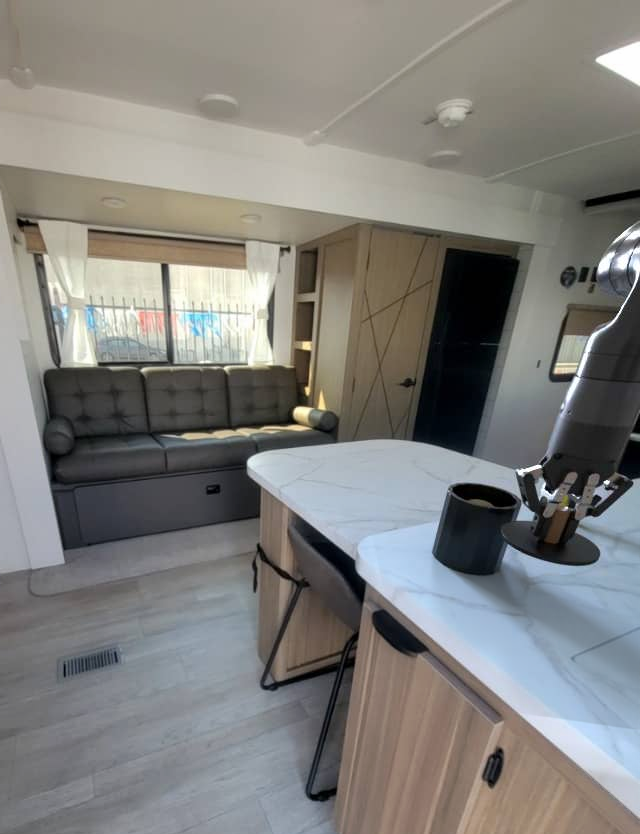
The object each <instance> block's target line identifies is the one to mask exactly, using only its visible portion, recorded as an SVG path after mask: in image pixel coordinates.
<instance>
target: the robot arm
mask: <svg viewBox="0 0 640 834" xmlns="http://www.w3.org/2000/svg"><path fill="white" fill-rule="evenodd" d="M595 277H596V278H595V279H596V283H597V286H598V287H599V289H600V290H601V291H602V292H603V293H604V294H605V295H608V296H610V297H614V298H617V299H618V298H620V299H625V301H624V303H623V304H622V306H621V308H620V309H619V311H618V312H617V314H616V316H615V317H614V318H613V319H611V320H610V321H607V322H603V323H602V324H599V325H597V326H596V327H594V329H592V331H591V332H590V333H589V334H588V337H587V339H586V341H585V344H584V346H583V349H582V352H581V356H580V359H579V361H578V364H577V367H576V370H575V373H574V376H573V377H572V380H571V382H570V384H569V386H568V387H567V390H566V392H565V394H564V396H563V400H562V403H561V405H560V406H559V410H558V411H559V412H558V414H557V417H556V420H555V423H554V426H553V429H552V432H551V435H550V438H549V441H548V442H547V451H546V454H545V455H544V456H543V457H542V458H541V459H540V460H539V462H538V464H537V465H534V466H531V467H528V468H525V467H522V466H519V467H518V468H516V469H515V472H514V473H515V477H516V481H517V485H518V488H519V489H518V490H519V494H520V498H521V500H522V505H524V506H525V507H526V508H527V509H528V510H529V511H530V512H531V513H534V514H533V517H532V519H531V521H532V523H531V525H530V528H529V529H530V532H531V533H532V536H533V537H534V538H535V539H536V540H537V541H544V539H545V537H546V534H547V531H548V529H549V526H550V523H551V521H552V518H551V516H552V515H553V513H554V511H555V510H556V508H557V506H558V504H560V503H562V502H563V500H564V498H565V496H566V494H567V496H568V501H567V505H566V506H567V507H569V508H570V509H571V512H570V515H569V517H568V520H567V522H566V525H565V527H564V530H563V532H562V535H561V537H560V540H559V542H560V543H567V542H568V540H569V539H572V538H573V536H574V534H575V533H577V532H576V531H577V529H578V527H579V524H580V522H581V521H582V520H583V519H585V518H587V517H592V518H598V517H600V516H601V515H603V514H604V512H606V511H607V510H608V509H609V508H610V507H611V506H613V505H614V504H615V503H616V502H617V501H618V500H619V499H620V498H622V496H624V495H625V494H626V493H627V492H628V491H629V490H630V489H631V488H632V487H633V486H634V481H633V480H631V479H630V478H628V477H627V476H625V475H622V474H621V473H618V472H616V471H617V466H616V465H617V464H616V461H618V459H620V458H621V457H622V454H623V452H624V450H625V448H626V445H627V443H628V441H629V439H630V436H631V433H632V432H633V429H634V427H635V424H636V422H637V420H638V417H639V416H640V220H638V221H636V222H635V223H634V224H633V225H631V226H630V227H628V228H627V229H626V230H624V231H623V232H622V233H621V234H620V235H619V236H618V237H616V238H615V239H614V241H613V242H612V243H611V244H610V245H609V246H608V248H607V249H606V250H605V251H604V253H603V254H602V256H601V258H600V260H599V262H598V265H597V268H596V274H595ZM540 476H541V477H542V478H543V481H544V483H543V485H542V486H541V488H540V491H539V493H540V496H539V494H538V490H537V487H536V485H537V484H538V483H539V481H540ZM598 487H599V488H598Z"/></svg>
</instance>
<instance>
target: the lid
mask: <svg viewBox="0 0 640 834" xmlns="http://www.w3.org/2000/svg"><path fill="white" fill-rule="evenodd" d="M570 512H571V509H570V508H569V507H567V506H564V505H560V504H558V506H557V508H556V510H555V511H554V513H553V515H552V516H551V518H552V521H551V523H550V526H549V529H548V531H547V534H546V537H545V539H544V541H537V540H536V539H535V538H534V537H533V536H532V533H531V532H530V529H529V528H530V525H531V523H532V520H516V521H511V522H508V523H505V524H504V525H503V526H502V527H501V530H500V535H501V537H502V539H503V540H504V541H505V542H506V543H507V544H508V546H510V547H511V548H513V550H516V551H518V552H520V553H522V554H524V555H526V556H529V557H531V558H533V559H537V560H539V561H543V562H547V563H551V564H555V565H560V566H570V567H585V566H591V565H594V564H596V563H597V562H598V561H599V559H600V557H601V550H600V548H599V546H597V545H596V544H595V542H593V541H591V540H590V539H588V538H587V537H585V536H583V535H582V534H579V533H578V532H575V534H574V536H573V538H572V539H569V540H568V542H567V543H560V542H559V540H560V537H561V535H562V532H563V530H564V527H565V525H566V522H567V520H568V517H569V515H570Z"/></svg>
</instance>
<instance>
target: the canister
mask: <svg viewBox="0 0 640 834" xmlns="http://www.w3.org/2000/svg"><path fill="white" fill-rule="evenodd" d="M471 499H478V500H483V501H486V502H489V503H491V504H492V505H493V506H494V507H490V506H484V505H480V504H475V503H472V502H469V501H468V500H471ZM443 502H444V504H443V507H442V509H441V514H440V518H439V522H438V526H437V531H436V534H435V539H434V543H433V546H432V550H431V553H432V555H433V557H434V559H435V560H437V562H439V563H440V564H441V565H443V566H445V567H447V568H448V569H450V570H453V571H455V572H458V573H462V574H465V575H470V576H479V577H484V576H491V575H494V574H496V573H498V572H499V571H500V569H501V567H502V563H503V560H504V557H505V554H506V551H507V548H508V546H509V545H508V544H507V543H506V542H505V541H504V540H503V539H502V537H501V535H500V530H501V527H502V526H503V525H504V524H505V523H508V522H511V521H518V516H519V514H520V510H521V508H522V505H523V501H522V498H521V497H518V495H516V494H515V493H512V492H510V491H508V490H506V489H504V488H500V487H497V486H494V485H489V484H483V483H477V482H456V483H454V484H450V485H449V486H448V487H447V491H446V495H445V499H444V501H443Z"/></svg>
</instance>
